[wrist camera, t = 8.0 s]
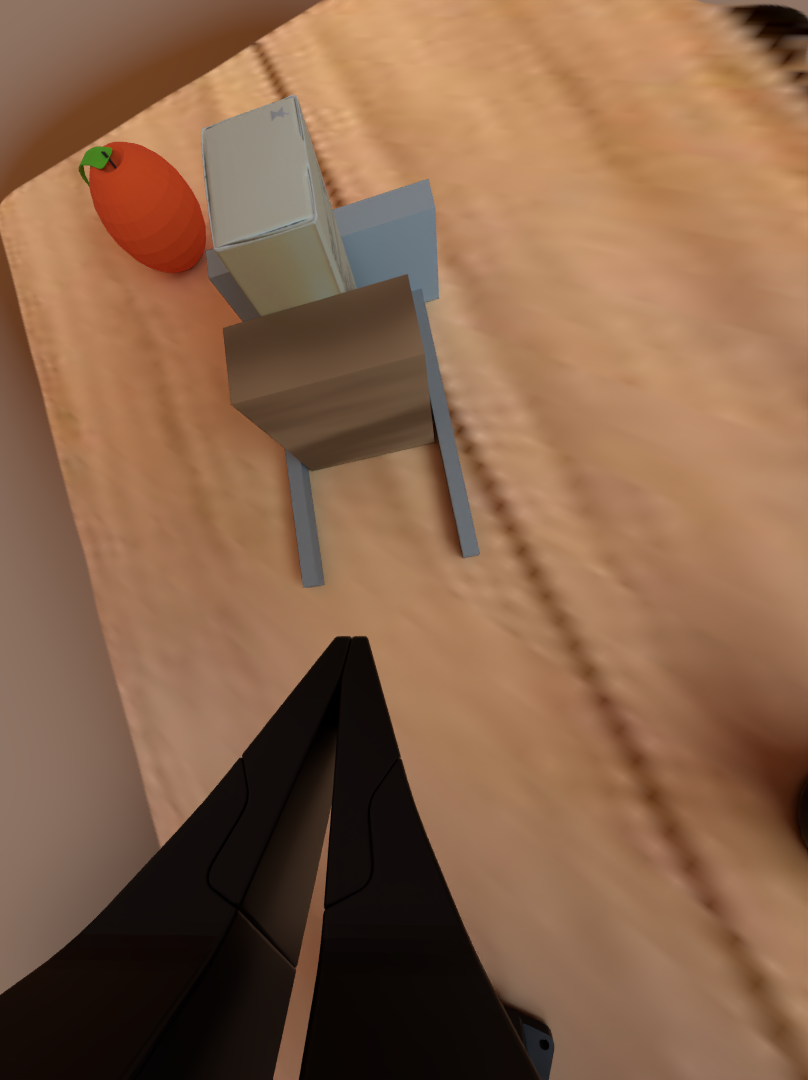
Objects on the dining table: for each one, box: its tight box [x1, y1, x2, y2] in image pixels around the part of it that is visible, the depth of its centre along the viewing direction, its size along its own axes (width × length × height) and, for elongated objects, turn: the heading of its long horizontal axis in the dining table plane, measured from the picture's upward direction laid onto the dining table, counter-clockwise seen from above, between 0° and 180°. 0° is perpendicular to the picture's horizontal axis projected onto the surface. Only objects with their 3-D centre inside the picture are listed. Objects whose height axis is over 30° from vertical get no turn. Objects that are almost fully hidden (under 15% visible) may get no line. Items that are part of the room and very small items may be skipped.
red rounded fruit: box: [79, 142, 206, 273], centre depth 25 cm, size 8×7×7 cm
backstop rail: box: [206, 179, 480, 588], centre depth 21 cm, size 21×14×6 cm, turn 11°
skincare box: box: [201, 95, 357, 317], centre depth 19 cm, size 6×4×12 cm
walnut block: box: [223, 274, 435, 471], centre depth 19 cm, size 4×9×9 cm, turn 101°
